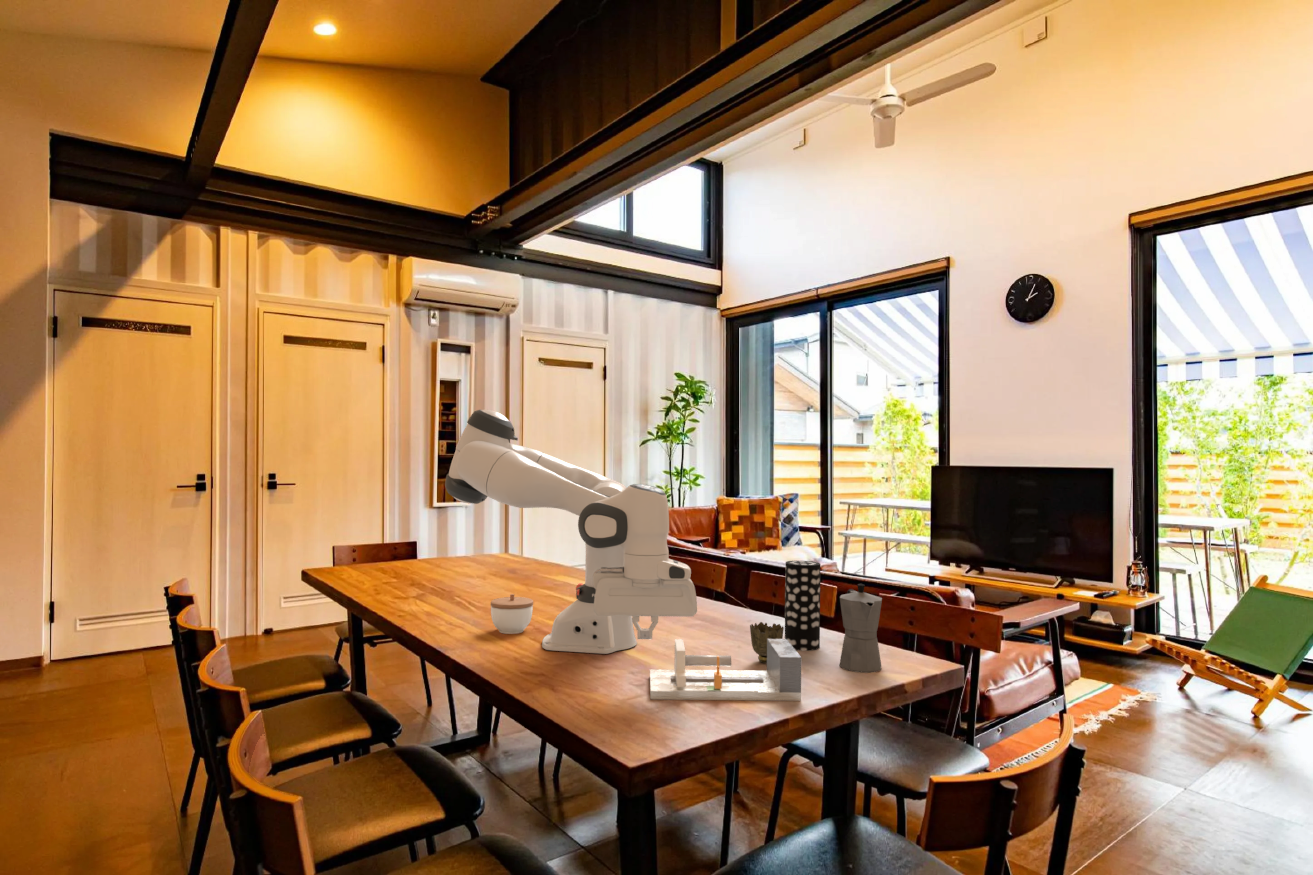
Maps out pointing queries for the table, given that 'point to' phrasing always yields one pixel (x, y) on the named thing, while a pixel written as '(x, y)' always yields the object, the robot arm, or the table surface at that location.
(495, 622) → the lidded jar
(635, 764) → the table surface
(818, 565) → the spotted tube
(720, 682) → the orange t-shaped block
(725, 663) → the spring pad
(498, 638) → the table surface
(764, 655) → the cup
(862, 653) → the coffeepot
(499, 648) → the table surface
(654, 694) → the gauge base
